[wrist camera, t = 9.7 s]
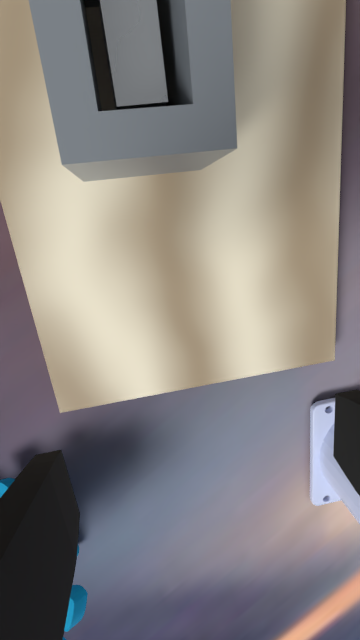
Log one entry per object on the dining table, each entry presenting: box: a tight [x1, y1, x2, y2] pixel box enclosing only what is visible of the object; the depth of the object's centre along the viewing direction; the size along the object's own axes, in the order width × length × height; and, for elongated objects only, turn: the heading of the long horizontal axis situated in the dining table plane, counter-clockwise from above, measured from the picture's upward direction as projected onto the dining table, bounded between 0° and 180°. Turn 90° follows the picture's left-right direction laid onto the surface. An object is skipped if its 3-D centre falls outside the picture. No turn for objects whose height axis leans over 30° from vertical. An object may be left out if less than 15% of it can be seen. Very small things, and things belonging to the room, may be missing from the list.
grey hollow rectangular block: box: [29, 0, 237, 182], centre depth 11 cm, size 5×7×5 cm
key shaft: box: [98, 0, 168, 110], centre depth 11 cm, size 2×4×4 cm, turn 7°
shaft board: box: [0, 0, 346, 413], centre depth 15 cm, size 15×20×1 cm
